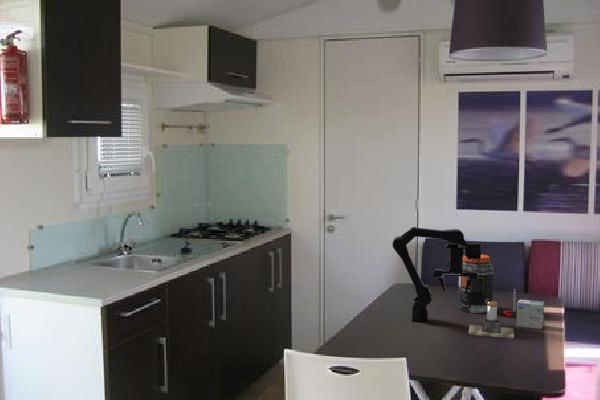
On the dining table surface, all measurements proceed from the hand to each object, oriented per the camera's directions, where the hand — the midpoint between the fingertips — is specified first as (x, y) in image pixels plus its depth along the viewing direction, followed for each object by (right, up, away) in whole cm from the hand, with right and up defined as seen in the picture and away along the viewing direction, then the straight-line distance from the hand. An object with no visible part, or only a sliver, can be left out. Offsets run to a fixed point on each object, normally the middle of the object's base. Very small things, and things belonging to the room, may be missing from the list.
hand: (455, 293), depth 306 cm
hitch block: (+12, -15, -15) cm, 24 cm away
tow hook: (+30, -12, +16) cm, 36 cm away
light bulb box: (+32, -14, -4) cm, 35 cm away
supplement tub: (+15, -11, +24) cm, 30 cm away
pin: (+12, -14, -15) cm, 23 cm away
